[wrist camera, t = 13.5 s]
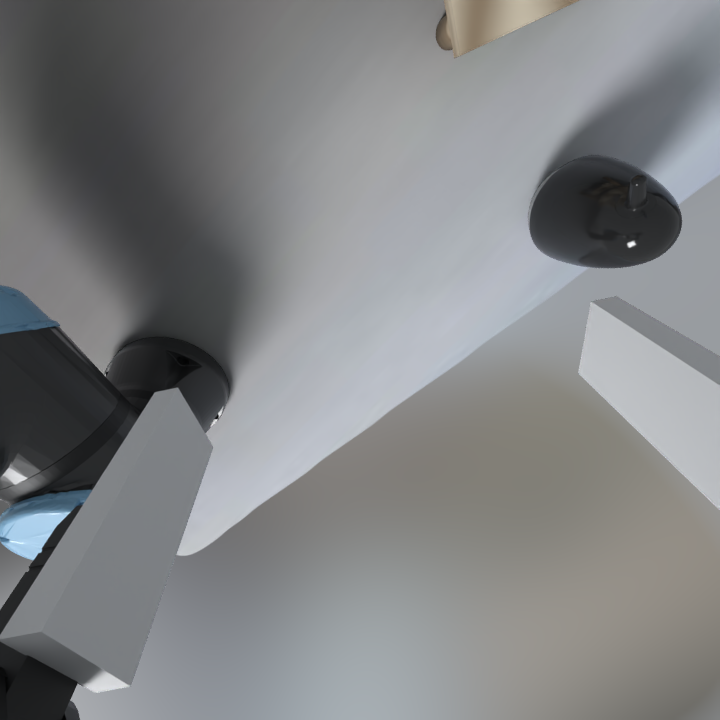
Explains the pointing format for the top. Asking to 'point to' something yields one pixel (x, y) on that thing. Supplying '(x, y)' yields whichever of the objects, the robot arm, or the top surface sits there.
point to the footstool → (488, 20)
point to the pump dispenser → (603, 214)
